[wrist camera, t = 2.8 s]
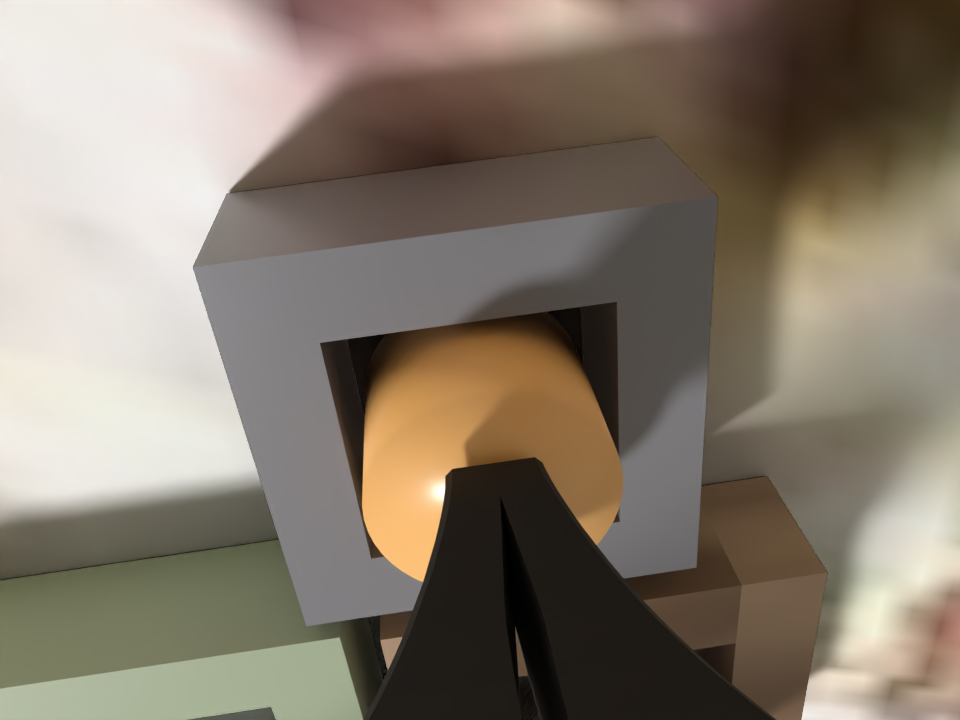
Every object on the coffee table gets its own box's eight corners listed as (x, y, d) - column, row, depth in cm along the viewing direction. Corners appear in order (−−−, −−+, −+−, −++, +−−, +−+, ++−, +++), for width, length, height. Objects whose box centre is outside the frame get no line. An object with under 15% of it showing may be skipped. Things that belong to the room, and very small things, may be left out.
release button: (584, 457, 16) (624, 572, 14) (384, 486, 16) (385, 609, 13) (577, 277, 14) (622, 372, 11) (346, 308, 14) (338, 412, 11)
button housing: (652, 469, 18) (696, 567, 16) (316, 518, 18) (306, 626, 16) (658, 136, 14) (718, 196, 12) (226, 193, 14) (192, 266, 12)
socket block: (740, 714, 24) (783, 817, 21) (432, 763, 23) (437, 873, 21) (767, 475, 19) (827, 573, 16) (380, 532, 19) (380, 639, 16)
